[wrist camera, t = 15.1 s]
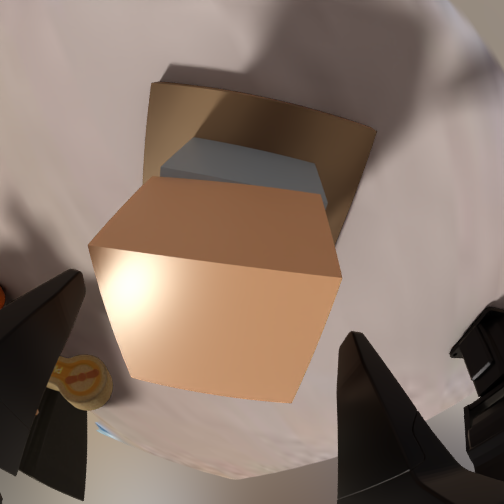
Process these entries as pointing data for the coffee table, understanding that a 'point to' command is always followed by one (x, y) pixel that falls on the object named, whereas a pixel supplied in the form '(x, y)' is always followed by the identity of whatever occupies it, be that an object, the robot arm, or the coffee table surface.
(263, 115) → the walnut base plate
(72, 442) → the flower pot
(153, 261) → the terracotta block
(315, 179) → the slate-blue block
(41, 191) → the coffee table surface
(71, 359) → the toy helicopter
